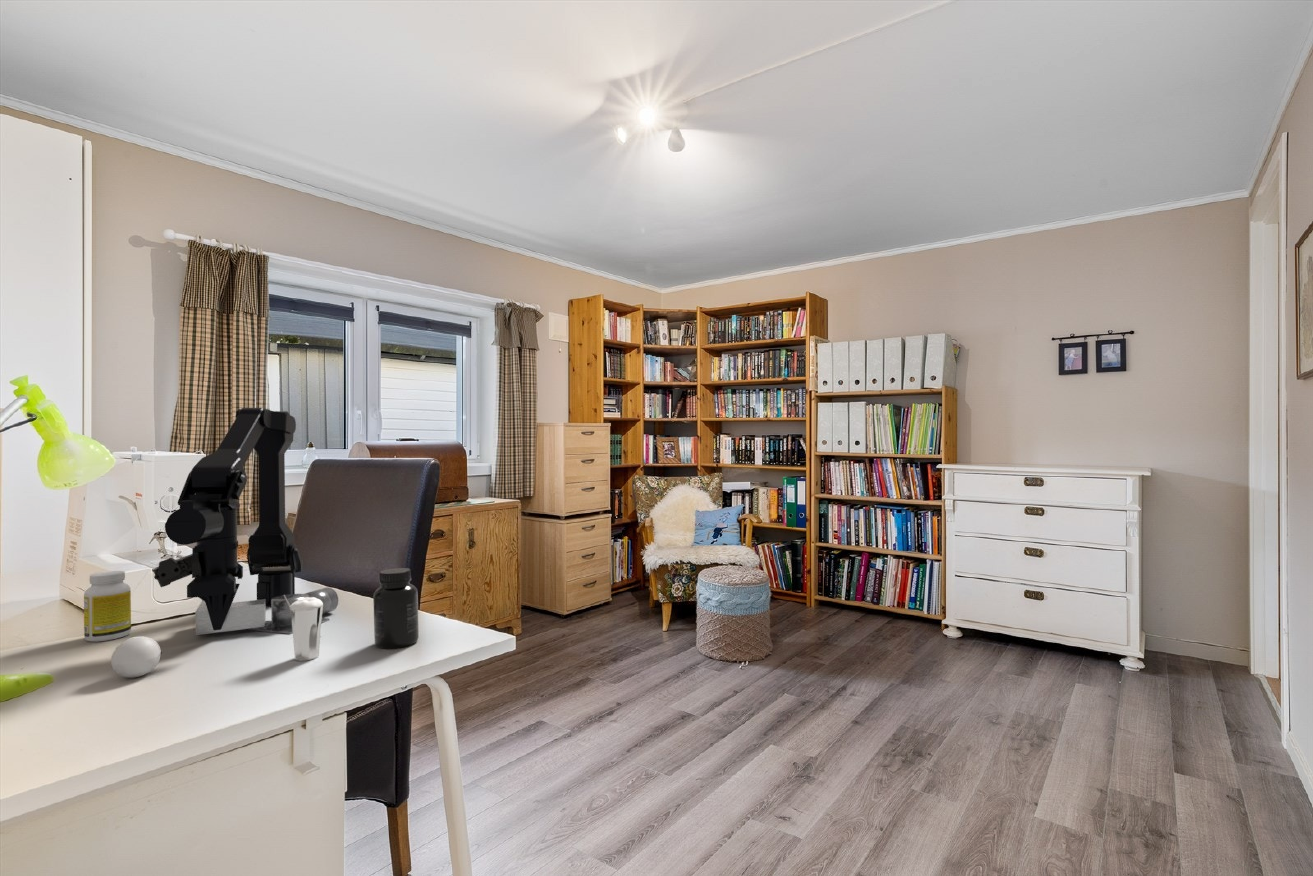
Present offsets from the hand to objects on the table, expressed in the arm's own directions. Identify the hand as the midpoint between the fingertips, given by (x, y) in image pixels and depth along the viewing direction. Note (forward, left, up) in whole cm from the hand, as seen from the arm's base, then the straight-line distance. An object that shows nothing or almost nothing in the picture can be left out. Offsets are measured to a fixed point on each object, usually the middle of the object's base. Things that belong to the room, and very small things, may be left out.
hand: (217, 629), depth 110 cm
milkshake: (+4, +22, -2) cm, 22 cm away
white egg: (+16, +4, -2) cm, 16 cm away
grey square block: (-6, -4, -1) cm, 7 cm away
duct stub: (-13, +5, -2) cm, 14 cm away
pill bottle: (+4, -20, -2) cm, 21 cm away
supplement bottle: (-6, +31, -2) cm, 32 cm away
